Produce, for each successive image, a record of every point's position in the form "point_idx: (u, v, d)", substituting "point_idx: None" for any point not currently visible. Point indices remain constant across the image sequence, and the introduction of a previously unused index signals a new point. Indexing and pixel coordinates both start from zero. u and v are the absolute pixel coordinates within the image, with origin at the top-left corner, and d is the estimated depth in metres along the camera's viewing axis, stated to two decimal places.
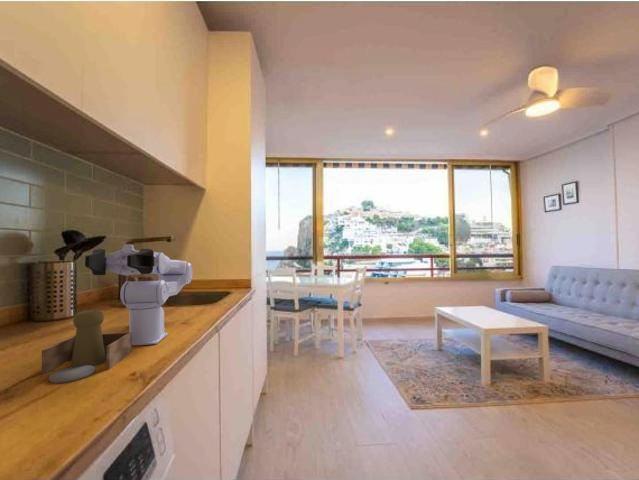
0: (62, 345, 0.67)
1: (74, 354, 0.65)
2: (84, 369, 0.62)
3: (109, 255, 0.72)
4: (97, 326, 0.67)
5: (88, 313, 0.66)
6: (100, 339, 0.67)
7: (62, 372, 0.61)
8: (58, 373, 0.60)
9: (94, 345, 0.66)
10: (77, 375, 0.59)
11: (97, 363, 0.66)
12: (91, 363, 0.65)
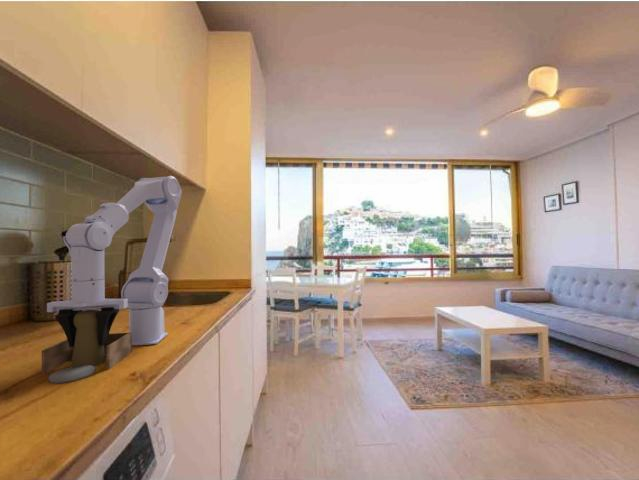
0: (62, 345, 0.67)
1: (74, 354, 0.65)
2: (84, 369, 0.62)
3: (64, 306, 0.65)
4: (97, 326, 0.67)
5: (88, 313, 0.66)
6: None
7: (62, 372, 0.61)
8: (58, 373, 0.60)
9: (95, 345, 0.66)
10: (77, 375, 0.59)
11: (97, 363, 0.66)
12: (91, 363, 0.65)
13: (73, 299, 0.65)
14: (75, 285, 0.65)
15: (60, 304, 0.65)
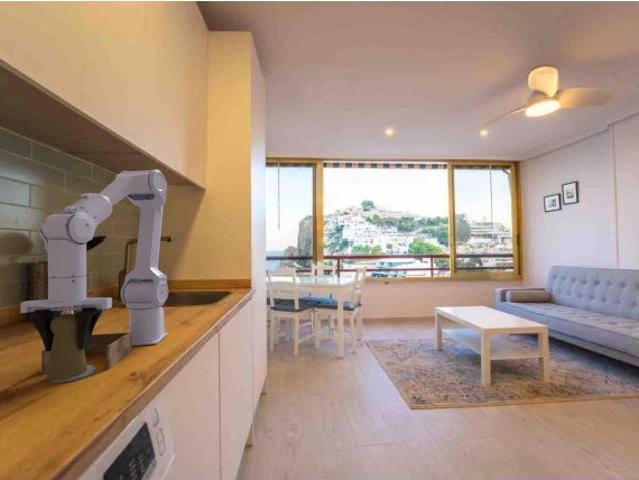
0: None
1: (51, 363, 0.58)
2: None
3: (40, 306, 0.58)
4: (77, 332, 0.60)
5: (68, 317, 0.59)
6: None
7: None
8: None
9: (75, 353, 0.59)
10: (77, 375, 0.59)
11: (77, 373, 0.59)
12: (70, 373, 0.58)
13: (50, 298, 0.58)
14: (52, 282, 0.58)
15: (35, 304, 0.58)
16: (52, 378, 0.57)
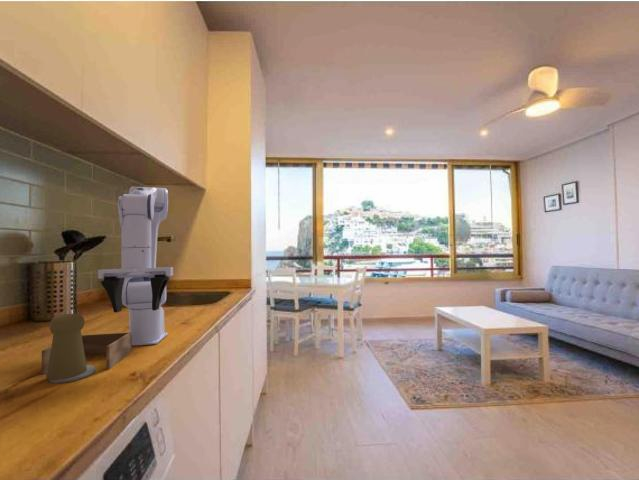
0: None
1: (50, 363, 0.58)
2: None
3: (115, 273, 0.68)
4: (77, 332, 0.60)
5: (67, 317, 0.59)
6: (80, 346, 0.61)
7: None
8: None
9: (74, 353, 0.59)
10: (77, 375, 0.59)
11: (77, 373, 0.59)
12: (70, 373, 0.58)
13: (124, 265, 0.67)
14: (126, 252, 0.67)
15: (111, 270, 0.67)
16: (52, 378, 0.57)
